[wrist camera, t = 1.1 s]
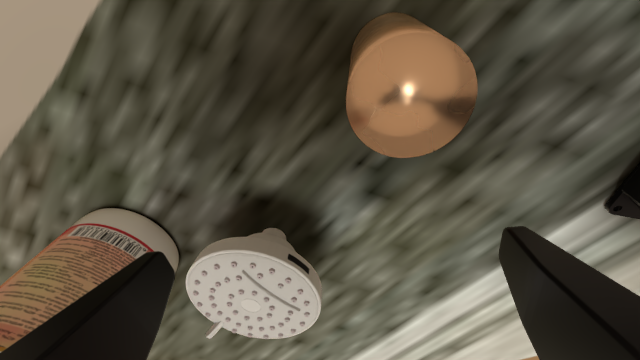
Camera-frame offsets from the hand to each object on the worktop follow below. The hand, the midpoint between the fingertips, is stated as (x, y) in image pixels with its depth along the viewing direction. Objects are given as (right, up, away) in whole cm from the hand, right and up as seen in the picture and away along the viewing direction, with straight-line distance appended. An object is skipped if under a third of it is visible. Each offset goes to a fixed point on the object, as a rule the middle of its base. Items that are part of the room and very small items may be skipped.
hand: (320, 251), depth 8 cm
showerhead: (-4, -3, +19) cm, 19 cm away
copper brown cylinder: (+4, +9, +10) cm, 14 cm away
